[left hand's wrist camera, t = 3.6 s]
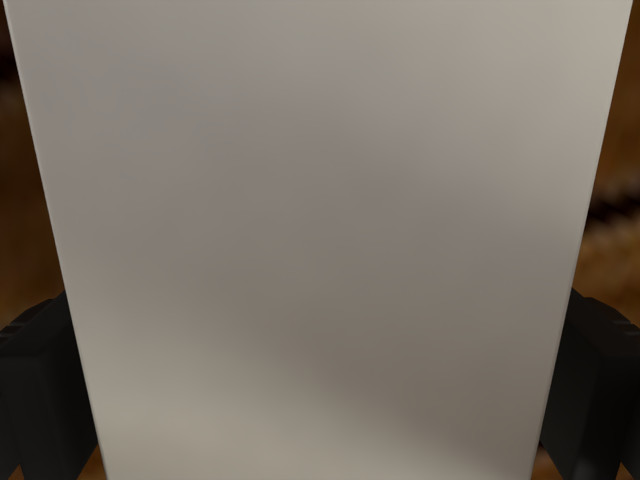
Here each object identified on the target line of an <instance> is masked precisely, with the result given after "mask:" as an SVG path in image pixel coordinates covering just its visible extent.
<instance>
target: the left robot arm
mask: <svg viewBox="0 0 640 480" xmlns="http://www.w3.org/2000/svg"><path fill="white" fill-rule="evenodd" d="M539 439H540V441H541V442H542V444H543V446H544V447H545V449H546V451H547V453H548V454H549V456H550V458H551V459H552V461H553V463H554V464H555V466H556V468H557V469H558V471H559V473H560V474H561V476H562V478H563V479H564V480H615V479H616V476H617V472H618V469H619V466H620V462H622V464H623V465H624V466H625V468H626V469H627V470H628V472H629V473H630V474H631V475H632V477H633V478H634V479H635V480H640V329H639V328H638V327H637V326H635V325H634V324H631V323H630V321H629V320H628V319H627V318H626V317H624V316H623V315H622V314H621V313H619V312H618V311H617V310H616V309H614V308H612V307H610V306H608V305H606V304H604V303H602V302H600V301H598V300H596V299H594V298H592V297H583V296H581V295H580V294H579V293H578V292H577V291H576V290H575V289H573V288H572V287H571V292H570V296H569V301H568V306H567V310H566V315H565V320H564V325H563V329H562V334H561V339H560V343H559V348H558V353H557V357H556V362H555V367H554V371H553V376H552V381H551V385H550V390H549V395H548V400H547V404H546V409H545V414H544V418H543V423H542V428H541V432H540V437H539ZM97 444H98V438H97V433H96V428H95V424H94V419H93V414H92V410H91V405H90V401H89V396H88V391H87V387H86V382H85V377H84V373H83V368H82V364H81V359H80V354H79V350H78V345H77V341H76V336H75V331H74V327H73V322H72V317H71V313H70V308H69V304H68V299H67V294H66V290H64V291H63V292H62V293H61V294H60V295H58V296H57V297H56V298H55V299H48V300H46V301H44V302H42V303H40V304H38V305H36V306H34V307H31V308H29V309H27V310H26V311H24V312H23V313H22V314H21V315H19V316H18V317H17V318H16V319H15V320H13V321H12V322H11V323H10V326H6V327H5V328H4V329H2V330H1V331H0V480H7V479H8V478H9V477H10V475H11V474H12V473H13V472H14V470H15V469H16V468H17V466H18V465H19V464H20V466H21V469H22V472H23V476H24V479H25V480H76V479H77V478H78V476H79V474H80V473H81V471H82V469H83V468H84V466H85V464H86V463H87V461H88V459H89V458H90V456H91V454H92V453H93V451H94V449H95V447H96V446H97Z"/></svg>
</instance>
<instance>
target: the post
mask: <svg viewBox="0 0 640 480" xmlns="http://www.w3.org/2000/svg"><path fill="white" fill-rule="evenodd" d="M632 1H633V0H3V3H4V8H5V13H6V17H7V22H8V26H9V31H10V36H11V40H12V45H13V49H14V54H15V59H16V63H17V68H18V73H19V77H20V82H21V86H22V91H23V96H24V100H25V105H26V110H27V114H28V119H29V123H30V128H31V133H32V137H33V142H34V147H35V151H36V156H37V160H38V165H39V170H40V174H41V179H42V183H43V188H44V193H45V197H46V202H47V207H48V211H49V216H50V220H51V225H52V230H53V234H54V239H55V244H56V248H57V253H58V257H59V262H60V267H61V271H62V276H63V280H64V285H65V290H66V294H67V299H68V304H69V308H70V313H71V317H72V322H73V327H74V331H75V336H76V341H77V345H78V350H79V354H80V359H81V364H82V368H83V373H84V377H85V382H86V387H87V391H88V396H89V401H90V405H91V410H92V414H93V419H94V424H95V428H96V433H97V438H98V442H99V447H100V451H101V456H102V461H103V465H104V470H105V474H106V479H107V480H530V479H531V474H532V470H533V465H534V460H535V456H536V451H537V446H538V442H539V437H540V432H541V428H542V423H543V418H544V414H545V409H546V404H547V400H548V395H549V390H550V385H551V381H552V376H553V371H554V367H555V362H556V357H557V353H558V348H559V343H560V339H561V334H562V329H563V325H564V320H565V315H566V310H567V306H568V301H569V296H570V292H571V287H572V282H573V278H574V273H575V268H576V264H577V259H578V254H579V250H580V245H581V240H582V235H583V231H584V226H585V221H586V217H587V212H588V207H589V203H590V198H591V193H592V189H593V184H594V179H595V175H596V170H597V165H598V161H599V156H600V151H601V146H602V142H603V137H604V132H605V128H606V123H607V118H608V114H609V109H610V104H611V100H612V95H613V90H614V86H615V81H616V76H617V71H618V67H619V62H620V57H621V53H622V48H623V43H624V39H625V34H626V29H627V25H628V20H629V15H630V11H631V6H632Z"/></svg>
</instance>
